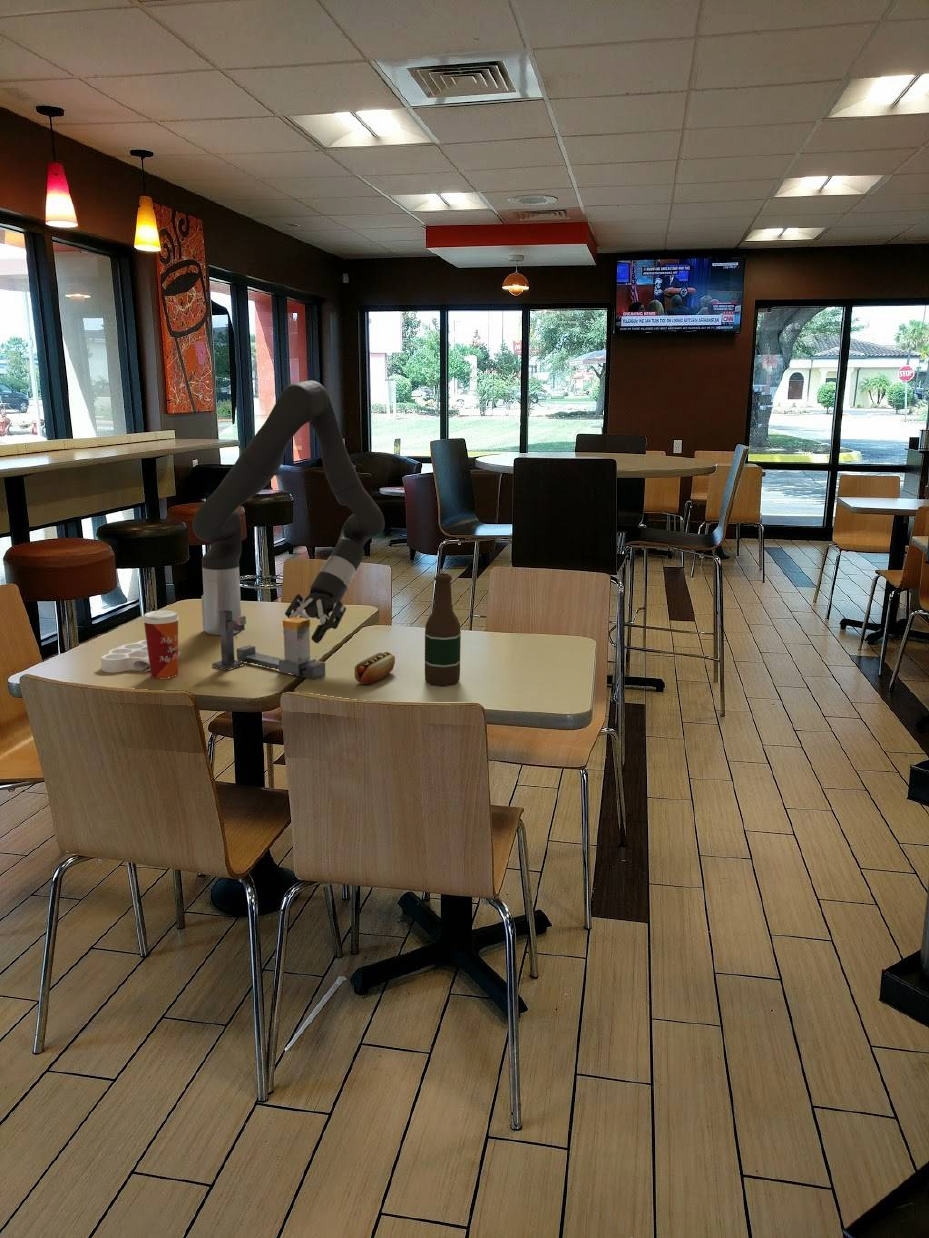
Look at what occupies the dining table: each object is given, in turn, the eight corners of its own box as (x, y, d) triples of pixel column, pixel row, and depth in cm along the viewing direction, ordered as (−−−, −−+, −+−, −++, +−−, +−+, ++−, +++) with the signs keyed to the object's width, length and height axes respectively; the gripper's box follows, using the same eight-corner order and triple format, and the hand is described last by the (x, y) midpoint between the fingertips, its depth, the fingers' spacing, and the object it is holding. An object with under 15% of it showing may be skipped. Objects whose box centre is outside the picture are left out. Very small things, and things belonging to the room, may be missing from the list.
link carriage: (279, 671, 206) (277, 620, 203) (296, 665, 211) (295, 615, 208) (298, 676, 203) (297, 624, 200) (316, 670, 208) (315, 619, 205)
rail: (237, 661, 215) (236, 648, 214) (249, 657, 218) (249, 645, 217) (313, 679, 202) (312, 666, 201) (325, 675, 205) (325, 662, 204)
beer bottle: (423, 676, 206) (424, 571, 200) (458, 676, 206) (460, 571, 201) (425, 687, 198) (426, 578, 192) (461, 686, 199) (463, 578, 193)
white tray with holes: (141, 678, 203) (86, 671, 207) (188, 656, 219) (136, 650, 223) (140, 663, 202) (84, 657, 206) (187, 643, 219) (135, 637, 223)
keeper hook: (212, 666, 210) (209, 611, 207) (229, 661, 214) (226, 607, 211) (236, 673, 206) (234, 616, 203) (253, 667, 210) (251, 612, 207)
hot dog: (400, 672, 208) (400, 651, 207) (371, 689, 197) (371, 666, 195) (380, 670, 210) (380, 648, 209) (351, 685, 199) (350, 663, 197)
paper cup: (171, 681, 199) (167, 618, 196) (139, 678, 200) (135, 616, 197) (189, 671, 206) (185, 610, 203) (158, 668, 208) (154, 608, 205)
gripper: (302, 567, 213) (268, 624, 207) (349, 574, 206) (315, 634, 199) (318, 585, 219) (285, 642, 212) (364, 593, 211) (332, 652, 204)
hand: (300, 638), depth 206 cm, fingers open, 8 cm apart
